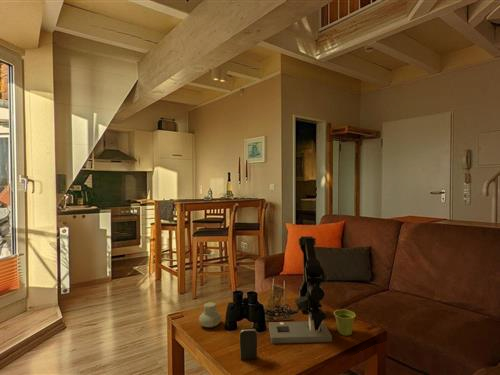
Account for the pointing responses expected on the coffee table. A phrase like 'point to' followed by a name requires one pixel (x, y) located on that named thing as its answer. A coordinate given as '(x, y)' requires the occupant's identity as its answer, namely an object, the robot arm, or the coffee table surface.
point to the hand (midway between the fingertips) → (314, 326)
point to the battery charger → (248, 343)
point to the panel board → (297, 332)
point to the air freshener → (210, 315)
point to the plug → (312, 325)
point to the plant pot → (344, 321)
